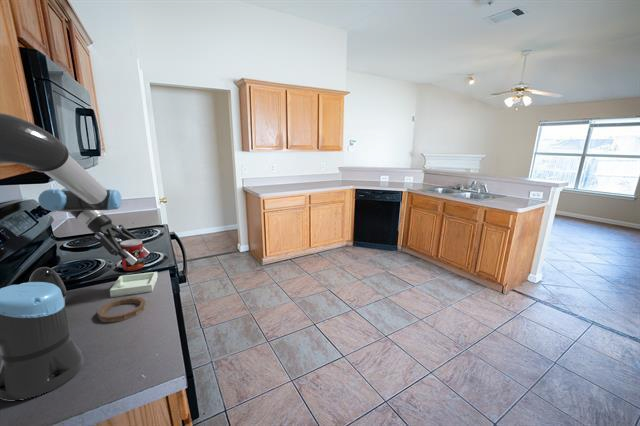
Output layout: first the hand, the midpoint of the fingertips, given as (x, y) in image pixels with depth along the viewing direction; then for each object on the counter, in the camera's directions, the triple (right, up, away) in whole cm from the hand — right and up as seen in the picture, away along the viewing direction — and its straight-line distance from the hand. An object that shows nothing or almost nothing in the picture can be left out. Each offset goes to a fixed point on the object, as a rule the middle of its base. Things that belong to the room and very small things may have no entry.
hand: (141, 258), depth 114 cm
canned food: (-3, -4, +1) cm, 5 cm away
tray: (-3, -12, +2) cm, 13 cm away
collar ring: (+4, -16, -16) cm, 23 cm away
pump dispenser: (-24, -15, -15) cm, 32 cm away
